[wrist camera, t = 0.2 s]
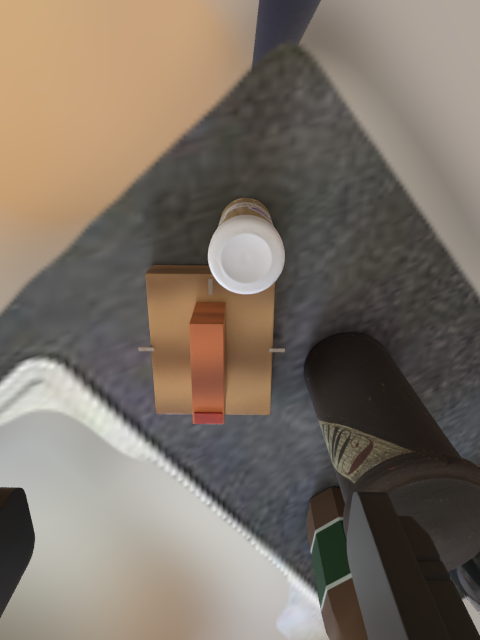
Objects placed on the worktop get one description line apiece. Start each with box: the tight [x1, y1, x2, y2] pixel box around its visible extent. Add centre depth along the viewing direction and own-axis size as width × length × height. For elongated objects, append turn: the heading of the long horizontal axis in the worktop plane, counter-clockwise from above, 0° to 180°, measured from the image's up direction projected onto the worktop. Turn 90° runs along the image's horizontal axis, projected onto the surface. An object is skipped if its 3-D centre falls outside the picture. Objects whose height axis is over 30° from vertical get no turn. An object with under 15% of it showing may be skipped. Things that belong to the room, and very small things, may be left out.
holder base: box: [138, 265, 285, 415], centre depth 39 cm, size 14×13×3 cm
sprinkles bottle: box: [208, 198, 285, 294], centre depth 30 cm, size 5×5×14 cm
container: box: [304, 333, 480, 571], centre depth 33 cm, size 9×9×20 cm
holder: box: [189, 302, 226, 424], centre depth 35 cm, size 9×3×5 cm, turn 0°
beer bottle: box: [306, 487, 368, 640], centre depth 38 cm, size 8×8×24 cm
